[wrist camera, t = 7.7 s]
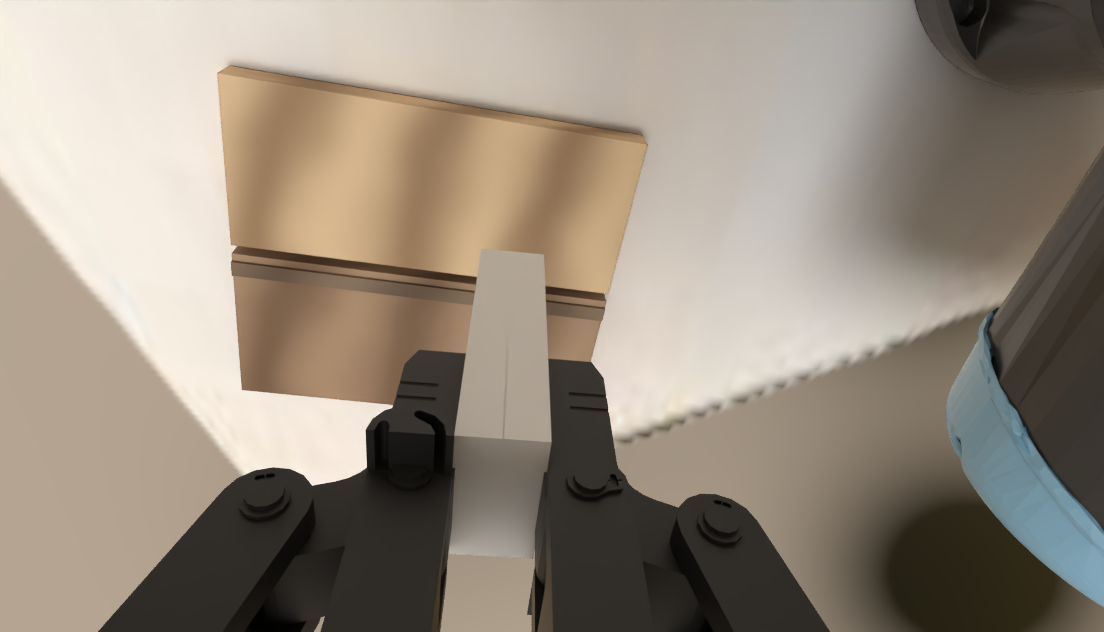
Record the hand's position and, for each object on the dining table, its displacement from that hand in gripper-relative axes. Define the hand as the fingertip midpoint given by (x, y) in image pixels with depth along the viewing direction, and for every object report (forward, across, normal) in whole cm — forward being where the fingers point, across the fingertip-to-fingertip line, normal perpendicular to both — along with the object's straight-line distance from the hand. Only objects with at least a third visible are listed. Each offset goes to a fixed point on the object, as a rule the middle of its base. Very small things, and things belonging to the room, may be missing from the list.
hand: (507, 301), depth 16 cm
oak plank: (+19, +4, +4) cm, 20 cm away
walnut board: (+19, +4, +14) cm, 24 cm away
